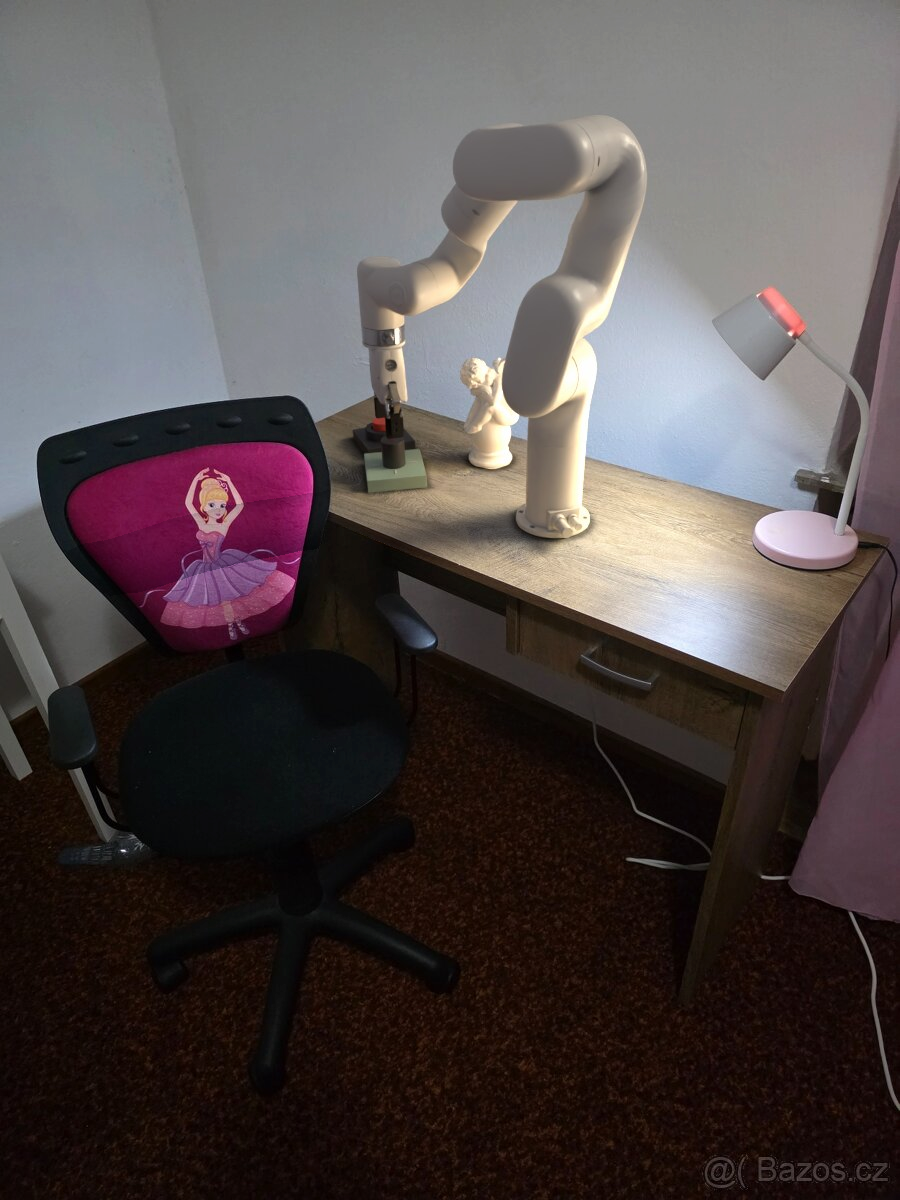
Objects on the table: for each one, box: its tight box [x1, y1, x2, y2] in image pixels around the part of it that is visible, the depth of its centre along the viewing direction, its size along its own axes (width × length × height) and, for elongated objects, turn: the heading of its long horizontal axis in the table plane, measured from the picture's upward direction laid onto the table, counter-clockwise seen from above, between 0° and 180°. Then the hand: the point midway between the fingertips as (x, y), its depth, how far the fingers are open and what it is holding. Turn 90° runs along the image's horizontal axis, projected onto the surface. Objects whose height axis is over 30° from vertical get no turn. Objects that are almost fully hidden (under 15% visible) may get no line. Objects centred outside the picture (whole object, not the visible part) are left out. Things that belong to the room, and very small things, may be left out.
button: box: [371, 417, 386, 431], centre depth 163 cm, size 4×4×2 cm
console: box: [363, 448, 428, 493], centre depth 153 cm, size 12×11×3 cm
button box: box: [352, 421, 416, 455], centre depth 165 cm, size 11×10×4 cm
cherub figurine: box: [459, 356, 520, 470], centre depth 154 cm, size 12×12×22 cm
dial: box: [381, 436, 406, 469], centre depth 151 cm, size 4×4×5 cm
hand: (389, 427), depth 148 cm, fingers open, 9 cm apart
